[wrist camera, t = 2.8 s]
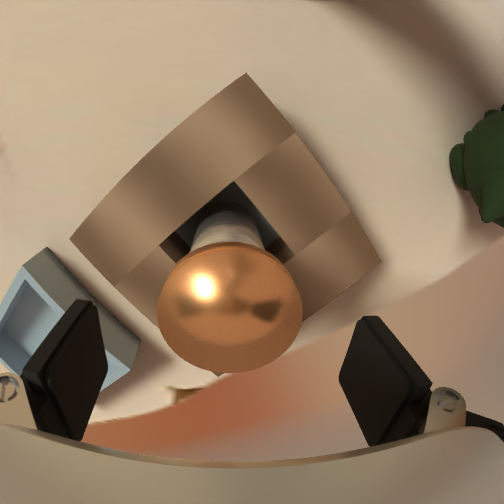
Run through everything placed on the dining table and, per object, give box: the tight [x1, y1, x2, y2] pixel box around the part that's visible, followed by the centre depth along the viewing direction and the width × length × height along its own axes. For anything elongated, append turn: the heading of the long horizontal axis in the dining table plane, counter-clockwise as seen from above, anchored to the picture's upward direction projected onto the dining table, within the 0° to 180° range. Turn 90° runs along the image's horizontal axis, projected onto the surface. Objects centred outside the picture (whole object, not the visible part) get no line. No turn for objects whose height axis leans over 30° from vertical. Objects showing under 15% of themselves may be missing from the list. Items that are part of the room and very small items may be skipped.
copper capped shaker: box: [157, 201, 303, 373], centre depth 15 cm, size 5×5×11 cm
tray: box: [0, 247, 141, 391], centre depth 22 cm, size 14×12×4 cm
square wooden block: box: [70, 73, 381, 377], centre depth 19 cm, size 14×14×5 cm
